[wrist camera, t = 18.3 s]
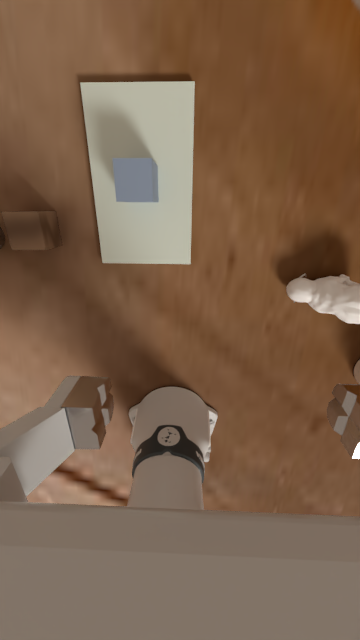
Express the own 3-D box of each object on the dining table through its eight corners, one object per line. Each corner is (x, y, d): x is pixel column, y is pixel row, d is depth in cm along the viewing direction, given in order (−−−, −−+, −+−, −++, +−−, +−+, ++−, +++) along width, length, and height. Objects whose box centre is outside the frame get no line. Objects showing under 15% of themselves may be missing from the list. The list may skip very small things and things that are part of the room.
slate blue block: (158, 202, 36) (153, 201, 30) (127, 202, 36) (116, 201, 30) (157, 165, 34) (151, 158, 28) (124, 165, 34) (112, 158, 29)
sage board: (190, 262, 40) (190, 264, 39) (104, 261, 41) (102, 262, 40) (194, 85, 31) (194, 81, 30) (83, 86, 31) (80, 82, 31)
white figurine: (376, 335, 35) (289, 319, 35) (347, 312, 42) (276, 299, 43) (400, 292, 32) (305, 276, 33) (364, 276, 40) (288, 263, 41)
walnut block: (62, 245, 40) (46, 250, 35) (32, 245, 40) (11, 250, 35) (56, 210, 38) (37, 211, 33) (23, 211, 38) (1, 211, 33)
